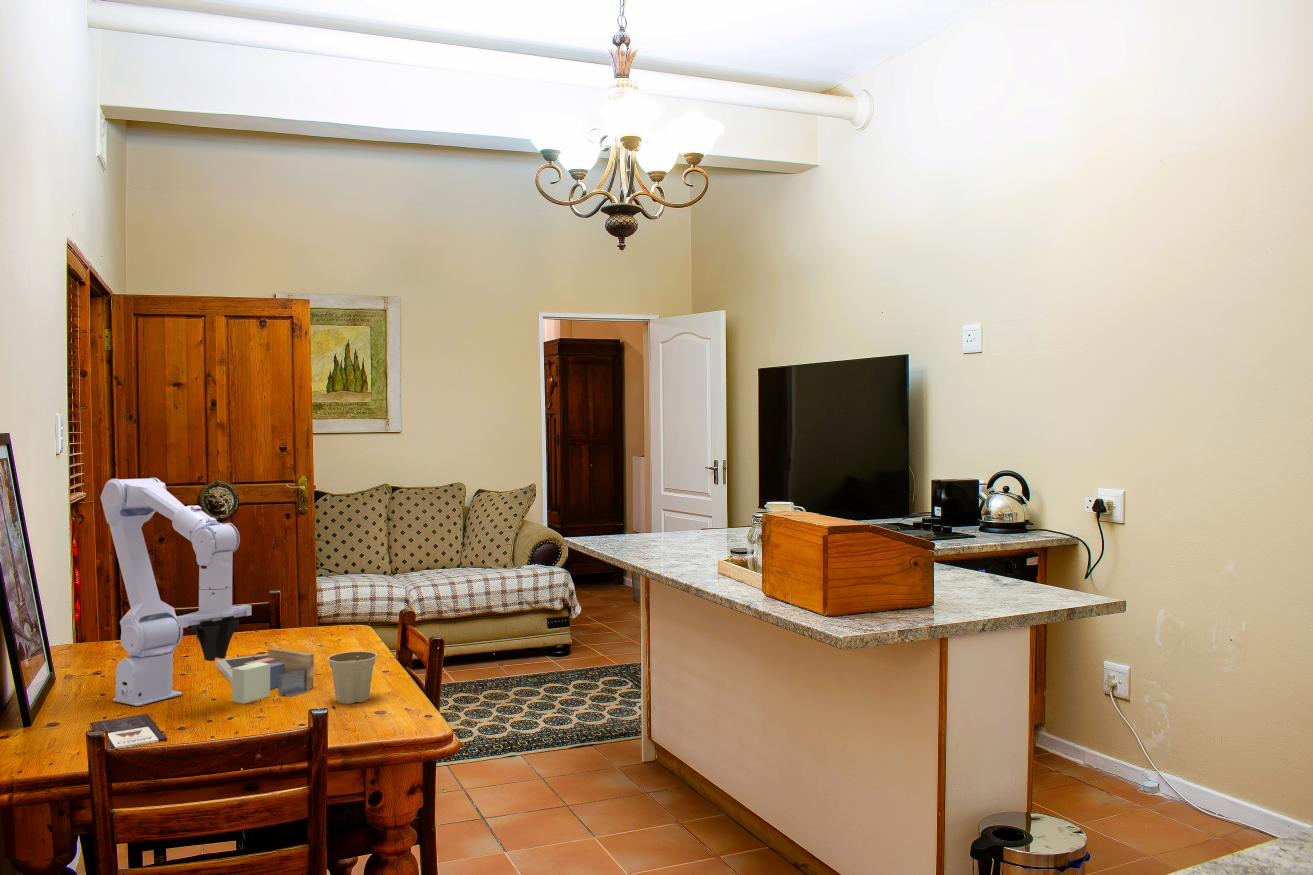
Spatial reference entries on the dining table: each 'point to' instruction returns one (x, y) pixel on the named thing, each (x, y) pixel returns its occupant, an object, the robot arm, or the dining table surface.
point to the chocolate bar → (130, 731)
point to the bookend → (292, 683)
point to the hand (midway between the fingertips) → (215, 659)
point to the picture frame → (235, 664)
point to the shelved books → (272, 670)
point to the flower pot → (352, 675)
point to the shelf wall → (295, 662)
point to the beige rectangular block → (250, 682)
